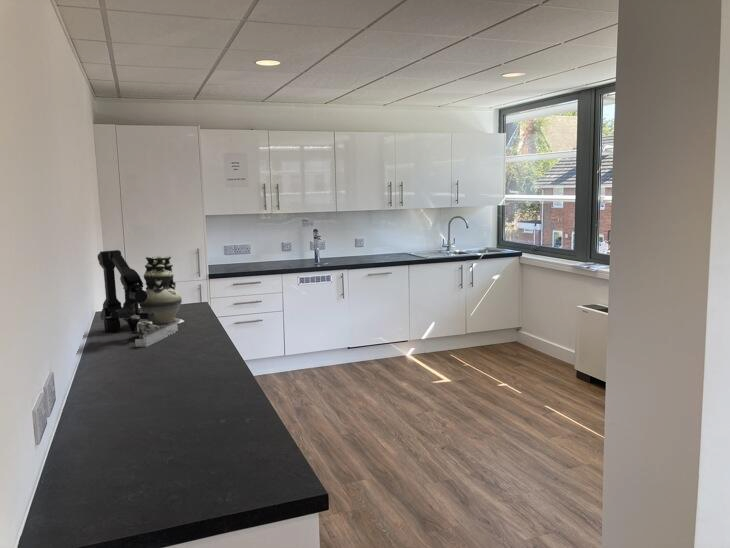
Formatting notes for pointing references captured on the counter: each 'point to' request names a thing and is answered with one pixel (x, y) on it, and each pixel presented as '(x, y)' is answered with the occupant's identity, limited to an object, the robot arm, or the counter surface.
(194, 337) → the counter surface
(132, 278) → the robot arm
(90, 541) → the counter surface
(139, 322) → the module
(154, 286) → the decorative urn
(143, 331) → the rock
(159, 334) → the bracket
